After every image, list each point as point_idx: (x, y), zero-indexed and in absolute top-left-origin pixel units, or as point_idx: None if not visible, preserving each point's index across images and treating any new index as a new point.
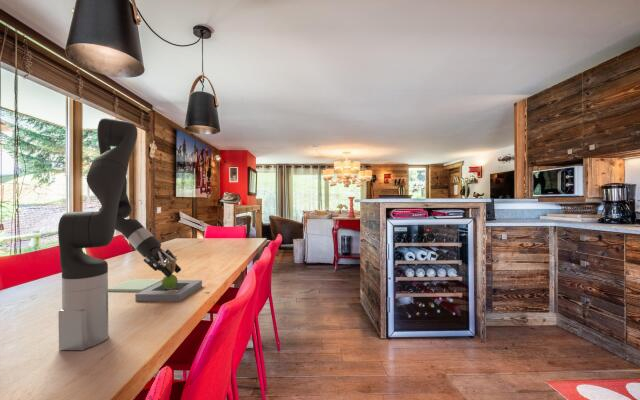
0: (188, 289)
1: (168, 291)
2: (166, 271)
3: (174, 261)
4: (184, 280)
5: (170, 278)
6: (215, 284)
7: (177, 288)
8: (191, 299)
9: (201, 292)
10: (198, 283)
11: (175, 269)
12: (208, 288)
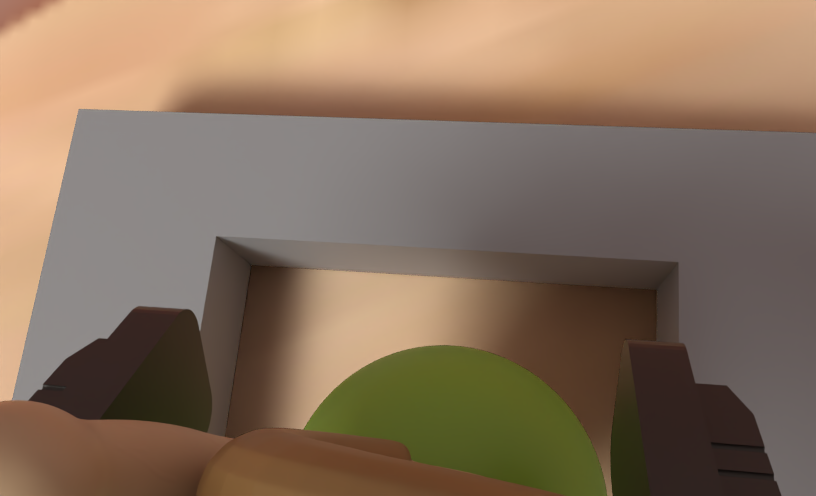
0: (559, 128)
1: None
2: (768, 465)
3: (98, 441)
4: None
5: (554, 433)
6: (66, 5)
7: None
8: (716, 63)
9: (414, 51)
10: (209, 120)
11: None
12: (240, 28)
